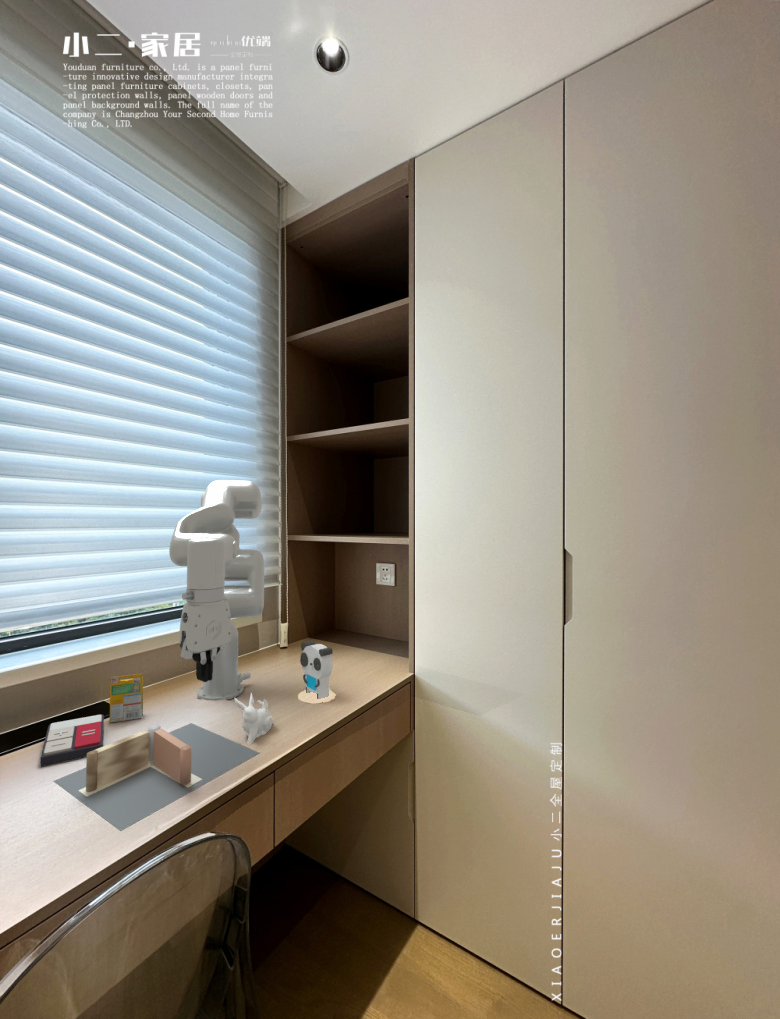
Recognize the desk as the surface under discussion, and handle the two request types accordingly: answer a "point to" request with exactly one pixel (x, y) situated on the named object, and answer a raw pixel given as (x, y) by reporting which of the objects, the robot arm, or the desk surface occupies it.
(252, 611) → the robot arm
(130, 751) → the panel
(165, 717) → the desk surface
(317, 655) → the panda figurine
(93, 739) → the calculator
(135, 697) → the crayon box
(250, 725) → the rabbit figurine
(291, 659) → the desk surface
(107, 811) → the mat
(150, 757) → the fence swing panel
